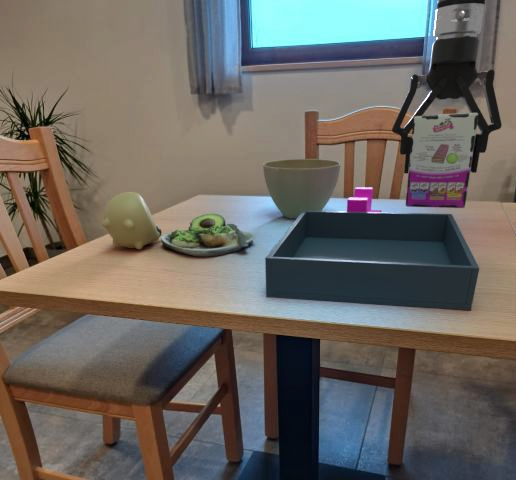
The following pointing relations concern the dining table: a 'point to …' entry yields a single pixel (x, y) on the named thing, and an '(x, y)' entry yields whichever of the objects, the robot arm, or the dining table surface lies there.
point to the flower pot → (301, 184)
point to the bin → (374, 260)
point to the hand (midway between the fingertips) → (439, 172)
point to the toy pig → (130, 221)
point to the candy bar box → (441, 160)
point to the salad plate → (207, 237)
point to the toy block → (361, 200)
